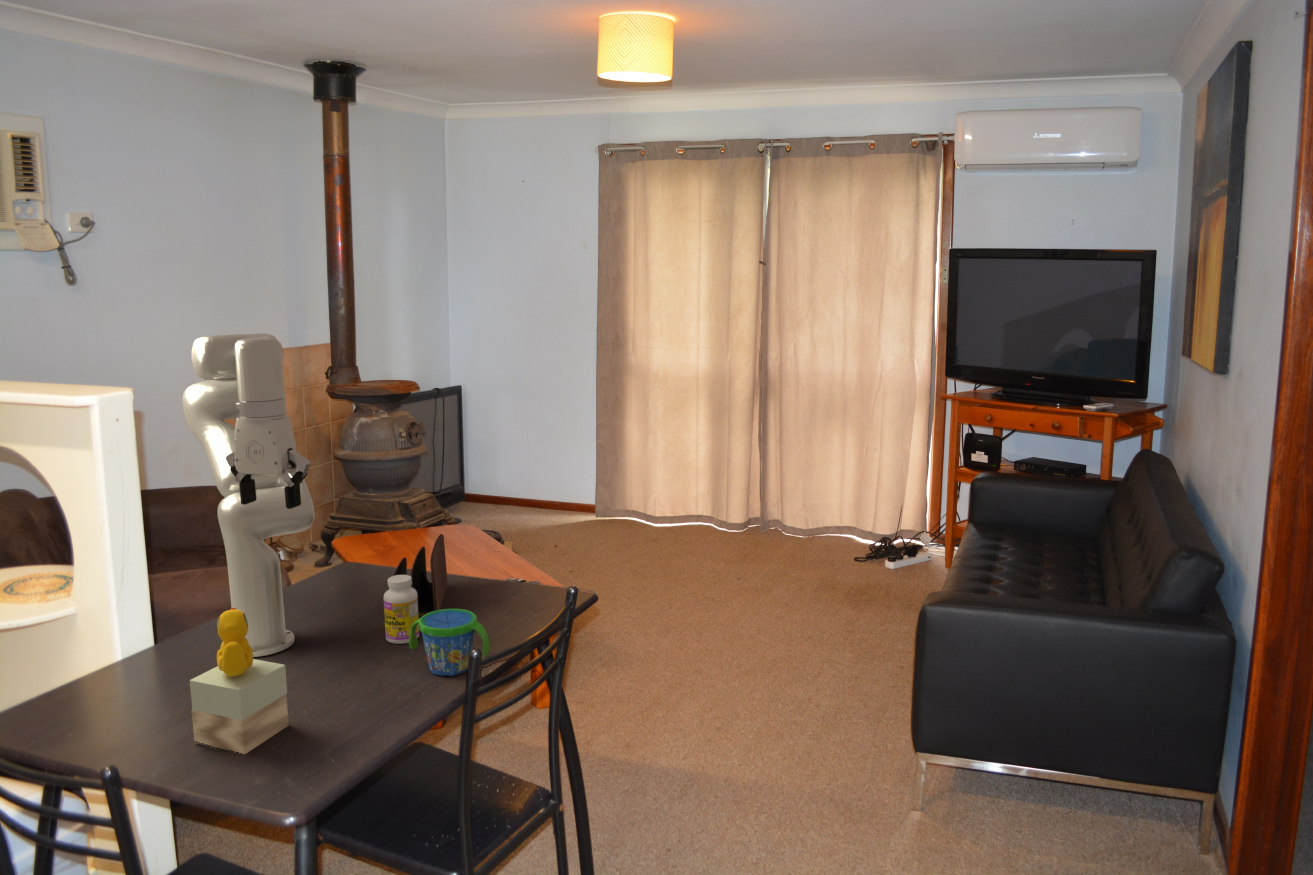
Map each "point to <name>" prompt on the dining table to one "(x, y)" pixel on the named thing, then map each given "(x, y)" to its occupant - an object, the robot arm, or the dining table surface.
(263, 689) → the tower top
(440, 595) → the letter holder
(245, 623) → the duckling
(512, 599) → the dining table surface
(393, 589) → the supplement bottle
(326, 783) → the dining table surface
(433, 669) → the snack cup
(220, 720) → the tower base
